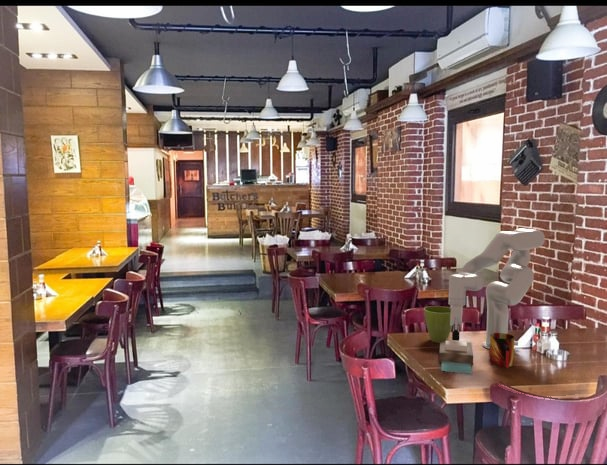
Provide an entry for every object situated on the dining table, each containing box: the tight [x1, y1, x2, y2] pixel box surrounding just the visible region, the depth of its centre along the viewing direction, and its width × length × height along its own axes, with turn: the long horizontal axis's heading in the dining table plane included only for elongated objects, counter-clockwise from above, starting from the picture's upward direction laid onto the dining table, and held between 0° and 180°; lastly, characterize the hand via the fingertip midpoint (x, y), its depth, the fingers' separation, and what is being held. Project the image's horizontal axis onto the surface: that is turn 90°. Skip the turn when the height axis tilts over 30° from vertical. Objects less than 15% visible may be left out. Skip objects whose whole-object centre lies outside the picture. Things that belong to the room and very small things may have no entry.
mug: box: [488, 333, 515, 369], centre depth 214 cm, size 10×14×12 cm
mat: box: [440, 361, 473, 375], centre depth 210 cm, size 12×12×1 cm
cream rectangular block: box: [446, 339, 468, 352], centre depth 223 cm, size 9×6×2 cm, turn 74°
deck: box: [438, 339, 474, 366], centre depth 225 cm, size 14×20×4 cm
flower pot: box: [423, 305, 453, 344], centre depth 248 cm, size 15×15×16 cm
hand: (455, 340), depth 232 cm, fingers closed
